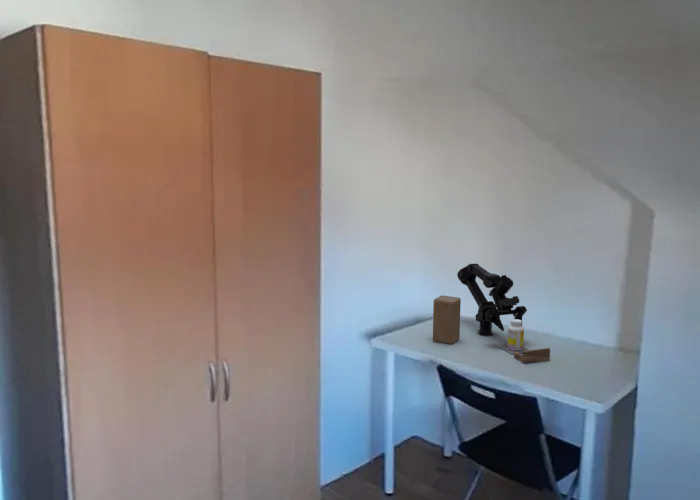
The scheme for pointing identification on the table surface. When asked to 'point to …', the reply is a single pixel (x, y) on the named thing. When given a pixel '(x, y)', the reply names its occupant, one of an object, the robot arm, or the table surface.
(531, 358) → the shelf lane
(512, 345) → the supplement bottle
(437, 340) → the wooden block
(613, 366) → the table surface
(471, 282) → the robot arm
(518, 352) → the pad
